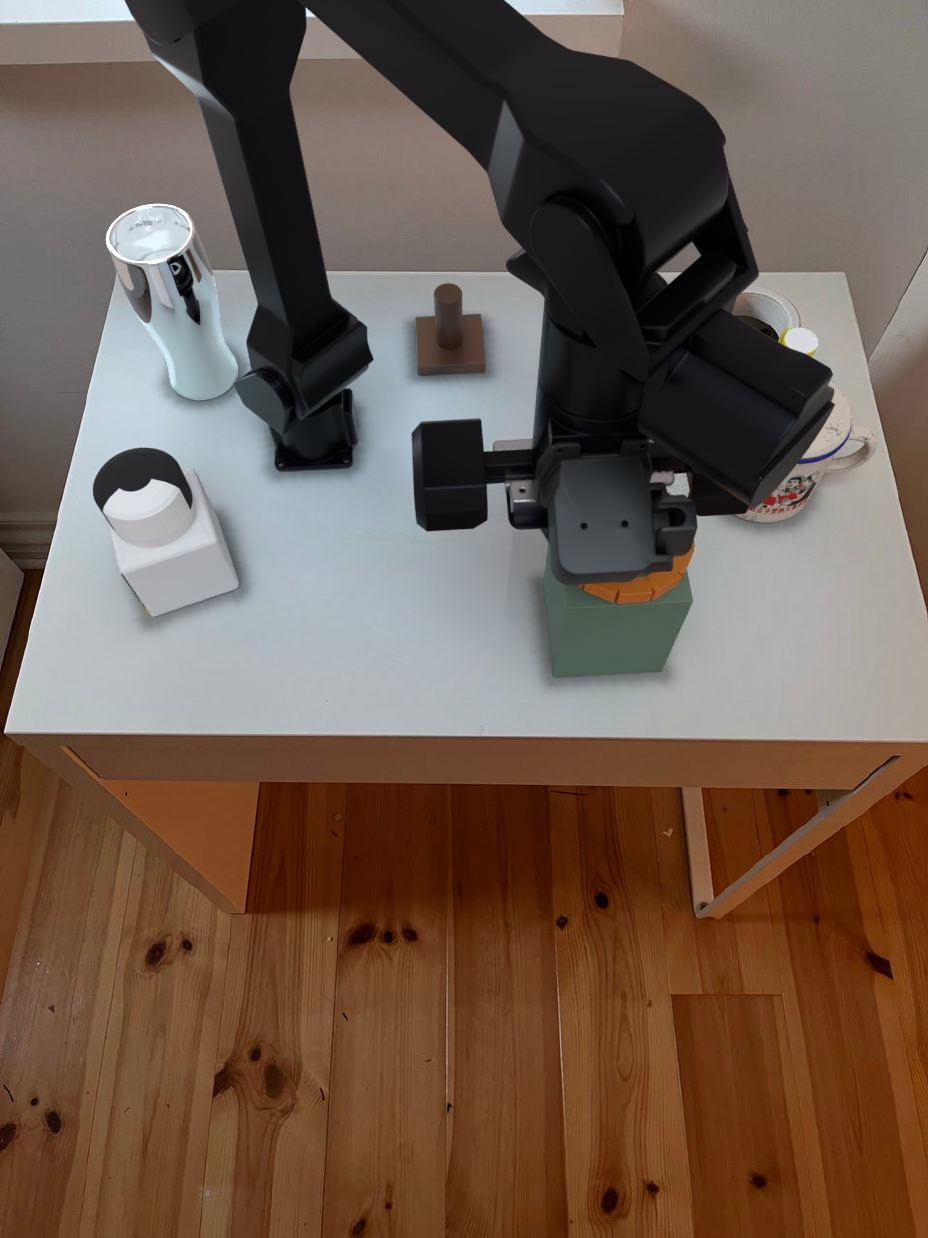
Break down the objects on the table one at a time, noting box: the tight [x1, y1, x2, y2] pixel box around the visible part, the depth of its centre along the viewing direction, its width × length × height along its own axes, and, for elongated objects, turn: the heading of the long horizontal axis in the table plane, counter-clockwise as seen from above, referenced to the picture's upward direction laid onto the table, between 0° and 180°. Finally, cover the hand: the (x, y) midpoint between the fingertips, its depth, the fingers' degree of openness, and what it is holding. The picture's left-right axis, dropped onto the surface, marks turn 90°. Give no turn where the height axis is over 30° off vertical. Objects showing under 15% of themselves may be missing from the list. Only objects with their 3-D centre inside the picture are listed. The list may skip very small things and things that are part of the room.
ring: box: [578, 540, 696, 604], centre depth 57 cm, size 8×8×1 cm
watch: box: [777, 327, 819, 357], centre depth 76 cm, size 6×3×6 cm, turn 175°
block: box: [542, 543, 694, 679], centre depth 63 cm, size 8×8×11 cm
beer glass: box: [105, 203, 239, 401], centre depth 73 cm, size 7×7×15 cm
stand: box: [414, 282, 486, 377], centre depth 78 cm, size 6×6×6 cm
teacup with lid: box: [735, 379, 878, 524], centre depth 68 cm, size 12×9×12 cm
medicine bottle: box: [92, 447, 240, 618], centre depth 65 cm, size 7×7×12 cm
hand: (568, 546), depth 57 cm, fingers closed on ring, 1 cm apart
